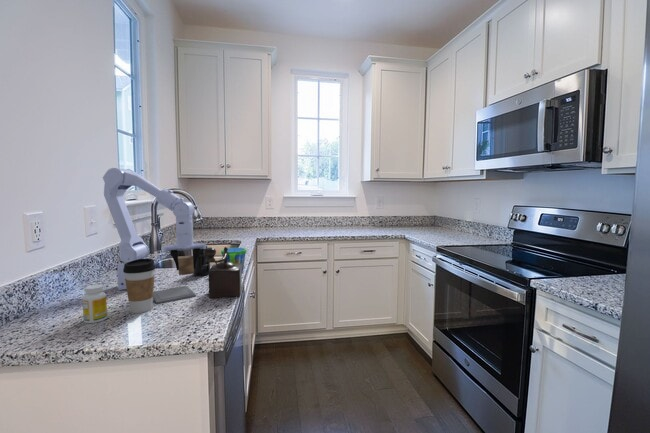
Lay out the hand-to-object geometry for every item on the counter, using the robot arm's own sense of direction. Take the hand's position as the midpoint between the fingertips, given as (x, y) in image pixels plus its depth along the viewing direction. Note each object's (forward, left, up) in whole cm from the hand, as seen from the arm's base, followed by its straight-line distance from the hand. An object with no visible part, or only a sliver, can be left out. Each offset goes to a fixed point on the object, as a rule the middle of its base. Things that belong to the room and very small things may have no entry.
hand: (185, 268), depth 120 cm
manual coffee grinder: (+11, -18, -7) cm, 22 cm away
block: (0, 0, -2) cm, 2 cm away
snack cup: (+20, +10, -7) cm, 24 cm away
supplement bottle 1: (-25, -23, -7) cm, 35 cm away
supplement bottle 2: (+7, +14, -7) cm, 17 cm away
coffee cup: (-14, -20, -7) cm, 25 cm away
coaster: (-5, -10, -6) cm, 13 cm away
